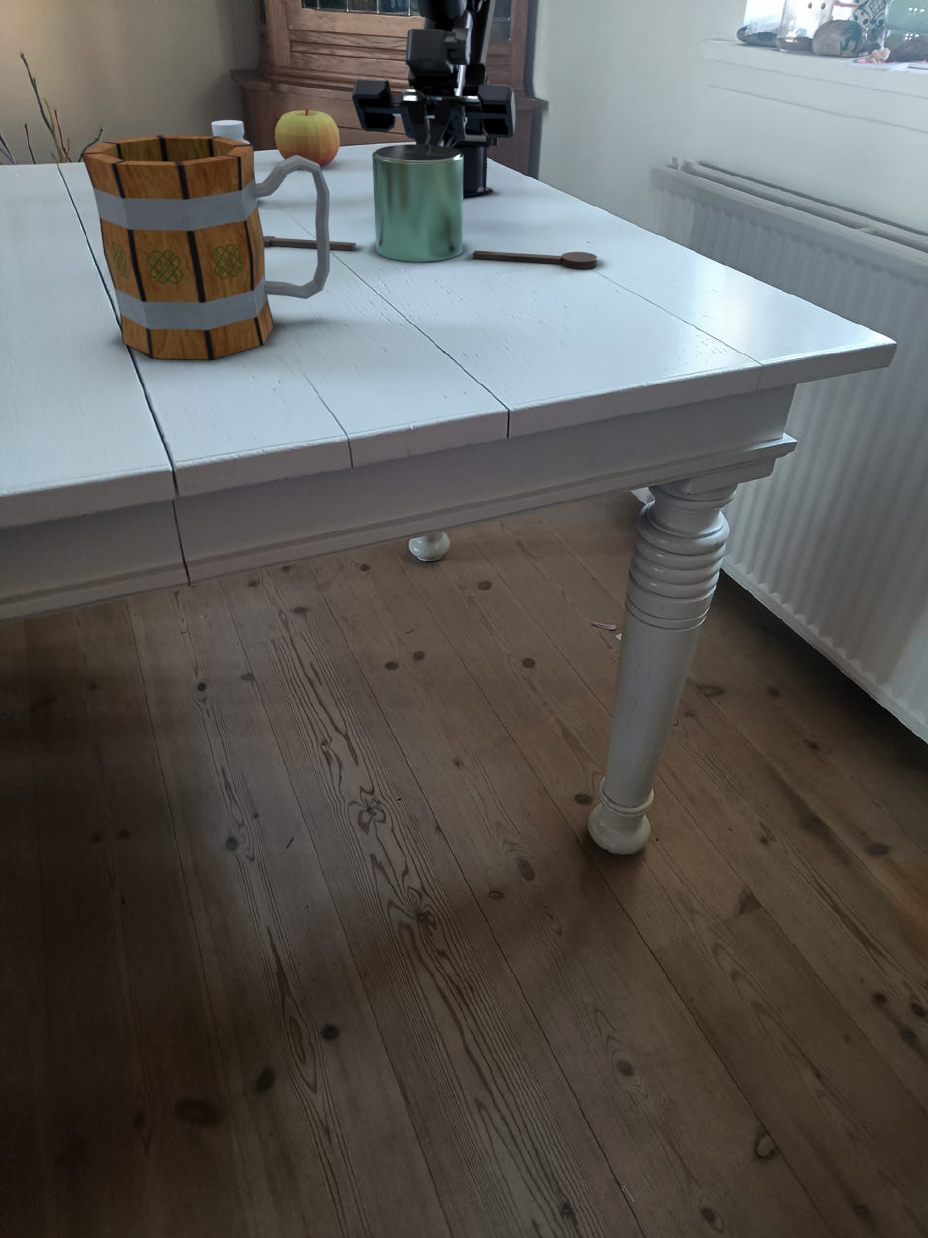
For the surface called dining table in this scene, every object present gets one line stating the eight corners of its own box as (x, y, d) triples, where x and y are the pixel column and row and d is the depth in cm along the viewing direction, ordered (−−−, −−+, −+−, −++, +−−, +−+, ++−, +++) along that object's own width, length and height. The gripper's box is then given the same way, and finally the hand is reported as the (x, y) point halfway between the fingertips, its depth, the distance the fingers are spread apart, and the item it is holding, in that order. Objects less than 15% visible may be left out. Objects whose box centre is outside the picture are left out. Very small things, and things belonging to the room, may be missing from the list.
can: (425, 233, 110) (424, 140, 103) (480, 251, 104) (482, 153, 97) (359, 247, 104) (354, 149, 98) (412, 267, 98) (410, 165, 92)
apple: (312, 174, 136) (307, 114, 131) (265, 166, 140) (258, 108, 135) (353, 164, 143) (350, 106, 138) (306, 156, 147) (302, 100, 142)
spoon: (470, 261, 100) (470, 254, 100) (476, 252, 103) (476, 244, 103) (595, 270, 98) (596, 262, 98) (597, 259, 102) (598, 252, 101)
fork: (357, 246, 105) (357, 241, 104) (351, 252, 103) (351, 246, 102) (237, 238, 107) (236, 233, 106) (229, 244, 105) (228, 238, 104)
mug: (129, 369, 74) (85, 170, 65) (116, 317, 84) (76, 138, 75) (357, 341, 80) (347, 155, 71) (320, 296, 90) (306, 128, 81)
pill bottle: (263, 199, 122) (253, 119, 116) (251, 209, 118) (241, 126, 112) (224, 198, 123) (213, 118, 117) (211, 207, 118) (199, 124, 113)
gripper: (351, -6, 99) (329, 120, 97) (517, -1, 97) (498, 128, 95) (372, 70, 110) (353, 185, 108) (522, 76, 108) (505, 194, 106)
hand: (424, 173), depth 104 cm, fingers closed, pressing on can
